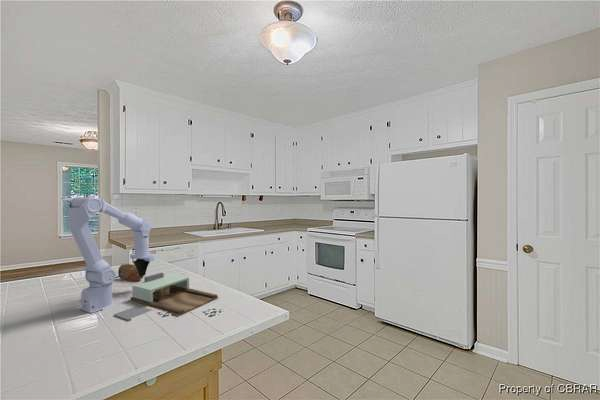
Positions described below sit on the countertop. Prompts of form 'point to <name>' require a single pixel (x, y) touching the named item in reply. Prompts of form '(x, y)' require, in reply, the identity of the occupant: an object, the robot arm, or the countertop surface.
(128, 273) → the tin
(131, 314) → the mat
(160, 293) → the block
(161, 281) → the cover
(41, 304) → the countertop surface
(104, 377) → the countertop surface
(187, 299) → the puzzle board
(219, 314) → the countertop surface
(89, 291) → the robot arm
